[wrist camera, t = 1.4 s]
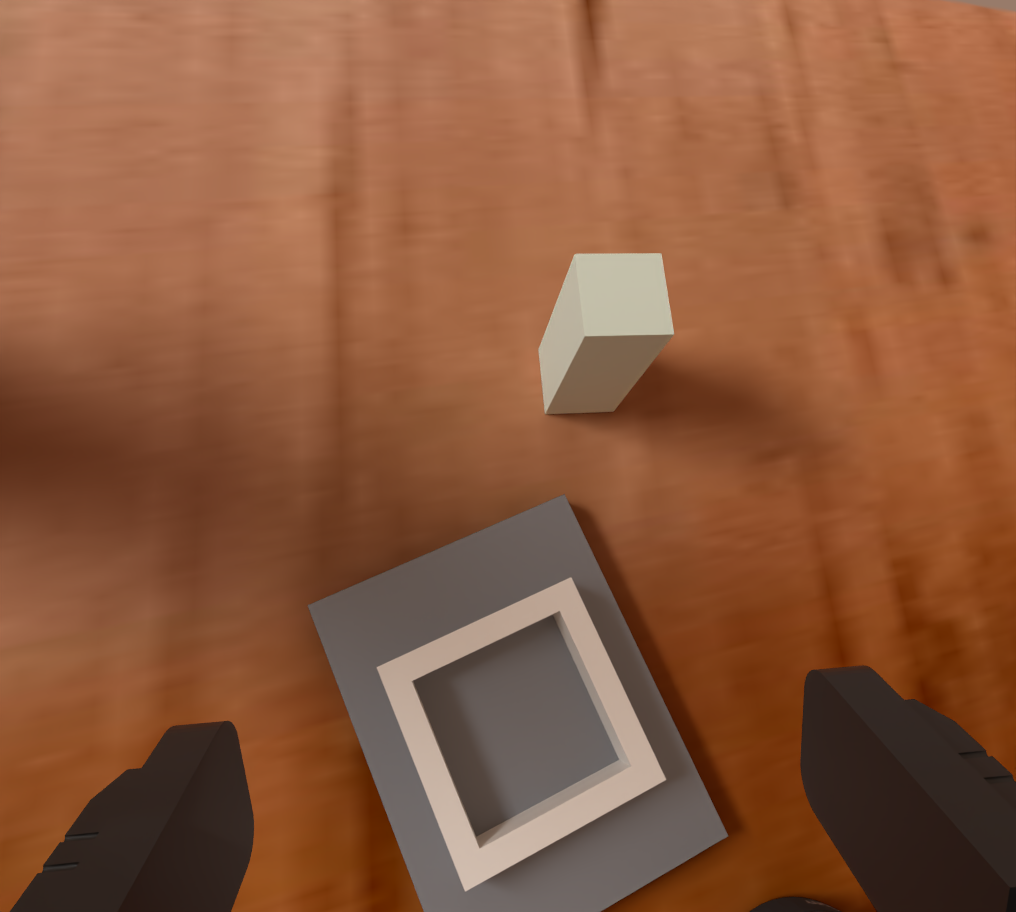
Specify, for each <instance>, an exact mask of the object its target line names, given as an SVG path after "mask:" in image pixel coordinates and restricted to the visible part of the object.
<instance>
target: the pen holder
mask: <svg viewBox="0 0 1016 912" xmlns="http://www.w3.org/2000/svg"><path fill="white" fill-rule="evenodd" d="M750 912H841V911H839V910H837V909H835V908H833V907H831V906H829V905H826V904H824V903H821V902H819V901H816V900H812V899H808V898H801V897H784V898H779V899H774V900H771V901H768V902H766V903H764V904H761V905H759V906H758V907H756V908H755V909H753V910H751V911H750Z"/></svg>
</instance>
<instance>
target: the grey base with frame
mask: <svg viewBox="0 0 1016 912" xmlns="http://www.w3.org/2000/svg"><path fill="white" fill-rule="evenodd" d="M308 608H309V611H310V613H311V616H312V618H313V621H314V624H315V626H316V629H317V632H318V634H319V637H320V639H321V642H322V645H323V647H324V650H325V653H326V655H327V658H328V660H329V663H330V666H331V668H332V671H333V674H334V676H335V679H336V682H337V684H338V687H339V689H340V692H341V695H342V697H343V700H344V703H345V705H346V708H347V710H348V713H349V716H350V718H351V721H352V724H353V726H354V729H355V731H356V734H357V737H358V739H359V742H360V745H361V747H362V750H363V753H364V755H365V758H366V760H367V763H368V766H369V768H370V771H371V774H372V776H373V779H374V781H375V784H376V787H377V789H378V792H379V795H380V797H381V800H382V802H383V805H384V808H385V810H386V813H387V816H388V818H389V821H390V824H391V826H392V829H393V831H394V834H395V837H396V839H397V842H398V845H399V847H400V850H401V852H402V855H403V858H404V860H405V863H406V866H407V868H408V871H409V873H410V876H411V879H412V881H413V884H414V887H415V889H416V892H417V895H418V897H419V900H420V902H421V905H422V908H423V910H424V912H601V911H602V910H604V909H606V908H607V907H609V906H611V905H612V904H614V903H616V902H618V901H619V900H621V899H623V898H624V897H626V896H628V895H629V894H631V893H633V892H634V891H636V890H638V889H640V888H641V887H643V886H645V885H646V884H648V883H650V882H651V881H653V880H655V879H656V878H658V877H660V876H661V875H663V874H665V873H667V872H668V871H670V870H672V869H673V868H675V867H677V866H678V865H680V864H682V863H683V862H685V861H687V860H689V859H690V858H692V857H694V856H695V855H697V854H699V853H700V852H702V851H704V850H705V849H707V848H709V847H711V846H712V845H714V844H716V843H717V842H719V841H721V840H722V839H724V838H726V837H727V836H728V834H727V832H726V830H725V828H724V826H723V824H722V822H721V820H720V818H719V815H718V813H717V811H716V809H715V807H714V805H713V803H712V801H711V799H710V797H709V795H708V793H707V790H706V788H705V786H704V784H703V782H702V780H701V778H700V776H699V774H698V772H697V770H696V768H695V765H694V763H693V761H692V759H691V757H690V755H689V753H688V751H687V749H686V747H685V745H684V742H683V740H682V738H681V736H680V734H679V732H678V730H677V728H676V726H675V724H674V722H673V720H672V717H671V715H670V713H669V711H668V709H667V707H666V705H665V703H664V701H663V699H662V697H661V695H660V692H659V690H658V688H657V686H656V684H655V682H654V680H653V678H652V676H651V674H650V672H649V669H648V667H647V665H646V663H645V661H644V659H643V657H642V655H641V653H640V651H639V649H638V647H637V644H636V642H635V640H634V638H633V636H632V634H631V632H630V630H629V628H628V626H627V624H626V621H625V619H624V617H623V615H622V613H621V611H620V609H619V607H618V605H617V603H616V601H615V599H614V596H613V594H612V592H611V590H610V588H609V586H608V584H607V582H606V580H605V578H604V576H603V574H602V571H601V569H600V567H599V565H598V563H597V561H596V559H595V557H594V555H593V553H592V551H591V548H590V546H589V544H588V542H587V540H586V538H585V536H584V534H583V532H582V530H581V528H580V526H579V523H578V521H577V519H576V517H575V515H574V513H573V511H572V509H571V507H570V505H569V503H568V500H567V498H566V496H565V494H564V495H561V496H559V497H557V498H554V499H552V500H550V501H548V502H545V503H543V504H541V505H538V506H536V507H534V508H531V509H529V510H527V511H524V512H522V513H520V514H517V515H515V516H513V517H511V518H508V519H506V520H504V521H501V522H499V523H497V524H494V525H492V526H490V527H487V528H485V529H483V530H481V531H478V532H476V533H474V534H471V535H469V536H467V537H464V538H462V539H460V540H457V541H455V542H453V543H450V544H448V545H446V546H444V547H441V548H439V549H437V550H434V551H432V552H430V553H427V554H425V555H423V556H420V557H418V558H416V559H414V560H411V561H409V562H407V563H404V564H402V565H400V566H397V567H395V568H393V569H390V570H388V571H386V572H383V573H381V574H379V575H377V576H374V577H372V578H370V579H367V580H365V581H363V582H360V583H358V584H356V585H353V586H351V587H349V588H347V589H344V590H342V591H340V592H337V593H335V594H333V595H330V596H328V597H326V598H323V599H321V600H319V601H316V602H314V603H312V604H310V605H308Z"/></svg>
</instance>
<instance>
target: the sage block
mask: <svg viewBox="0 0 1016 912" xmlns="http://www.w3.org/2000/svg"><path fill="white" fill-rule="evenodd" d="M673 335H674V330H673V324H672V318H671V311H670V305H669V299H668V293H667V286H666V280H665V274H664V267H663V261H662V255H661V253H651V254H574V257H573V260H572V262H571V265H570V268H569V270H568V273H567V276H566V278H565V281H564V284H563V286H562V289H561V291H560V294H559V297H558V299H557V302H556V305H555V307H554V310H553V313H552V315H551V318H550V321H549V323H548V326H547V328H546V331H545V334H544V336H543V339H542V342H541V344H540V347H539V359H540V369H541V379H542V389H543V399H544V409H545V414H566V413H593V412H614V410H615V409H616V408H617V407H618V405H619V404H620V403H621V401H622V400H623V399H624V398H625V396H626V395H627V394H628V393H629V391H630V390H631V389H632V387H633V386H634V385H635V384H636V382H637V381H638V380H639V378H640V377H641V376H642V375H643V373H644V372H645V371H646V370H647V368H648V367H649V366H650V364H651V363H652V362H653V361H654V359H655V358H656V357H657V356H658V354H659V353H660V352H661V350H662V349H663V348H664V347H665V345H666V344H667V343H668V342H669V340H670V339H671V338H672V336H673Z"/></svg>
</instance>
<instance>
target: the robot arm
mask: <svg viewBox="0 0 1016 912" xmlns="http://www.w3.org/2000/svg"><path fill="white" fill-rule="evenodd" d="M801 775H802V780H803V785H804V789H805V792H806V795H807V798H808V801H809V803H810V805H811V808H812V810H813V811H814V813H815V815H816V816H817V818H818V820H819V821H820V823H821V824H822V826H823V827H824V829H825V831H826V832H827V834H828V835H829V837H830V838H831V840H832V842H833V843H834V845H835V846H836V848H837V849H838V851H839V853H840V854H841V856H842V857H843V859H844V860H845V862H846V864H847V865H848V867H849V868H850V870H851V871H852V873H853V875H854V876H855V878H856V879H857V881H858V882H859V884H860V886H861V887H862V889H863V890H864V892H865V893H866V895H867V897H868V898H869V900H870V901H871V903H872V904H873V906H874V908H875V909H876V911H877V912H1016V782H1015V781H1014V779H1013V775H1012V774H1011V773H1010V772H1009V771H1008V770H1007V769H1006V768H1004V767H1003V766H1002V765H1001V764H1000V763H999V762H998V761H997V760H996V759H995V758H994V757H993V756H990V757H988V756H987V754H986V750H985V749H984V748H983V747H982V746H981V745H980V744H979V743H977V742H976V741H975V740H974V739H973V738H972V737H971V736H970V735H969V734H968V733H967V732H966V731H965V730H963V729H962V728H961V727H960V726H959V725H958V724H957V723H956V722H955V721H953V720H951V719H949V718H947V717H946V716H944V715H942V714H940V713H938V712H937V711H935V710H933V709H931V708H929V707H928V706H926V705H924V704H922V703H920V702H919V701H917V700H915V699H911V700H904V699H902V698H901V697H900V696H899V695H898V694H897V693H896V692H895V691H894V690H893V689H892V688H891V687H890V686H889V685H888V684H887V683H886V682H885V681H884V680H883V679H882V678H881V677H880V676H879V675H878V674H877V673H876V672H875V671H874V670H873V669H871V668H870V667H868V666H864V665H863V666H852V667H841V668H830V669H819V670H811V671H810V672H809V673H808V674H807V677H806V680H805V686H804V705H803V724H802V743H801ZM253 836H254V819H253V811H252V805H251V800H250V795H249V790H248V785H247V780H246V775H245V770H244V765H243V760H242V755H241V750H240V744H239V739H238V735H237V731H236V728H235V726H234V725H233V724H232V722H230V721H222V722H211V723H200V724H189V725H178V726H172V727H170V728H169V729H168V730H167V731H166V733H165V734H164V735H163V737H162V738H161V740H160V741H159V743H158V744H157V746H156V747H155V749H154V750H153V752H152V753H151V755H150V756H149V758H148V759H147V761H146V762H145V764H144V765H143V767H142V768H139V769H128V770H126V771H125V772H124V773H123V774H121V775H120V776H119V777H118V778H117V779H115V780H114V781H113V782H112V783H111V784H109V785H108V786H107V787H106V788H105V789H103V790H102V791H101V792H100V793H98V794H97V795H96V796H95V797H94V798H92V799H91V800H90V801H89V803H88V804H87V806H86V807H85V808H84V810H83V811H82V812H81V814H80V815H79V817H78V818H77V819H76V821H75V822H74V824H73V825H72V826H71V828H70V829H69V831H68V832H67V833H66V835H65V841H64V842H60V843H59V844H58V846H57V847H56V849H55V850H54V851H53V853H52V854H51V855H50V857H49V858H48V860H47V861H46V862H45V864H44V865H43V872H42V873H37V875H36V876H35V878H34V879H33V880H32V882H31V883H30V885H29V886H28V887H27V889H26V890H25V891H24V893H23V894H22V896H21V897H20V898H19V900H18V901H17V903H16V904H15V905H14V907H13V908H12V909H11V911H10V912H231V910H232V907H233V905H234V902H235V899H236V897H237V894H238V891H239V889H240V886H241V883H242V881H243V878H244V875H245V873H246V870H247V867H248V864H249V861H250V857H251V852H252V846H253Z"/></svg>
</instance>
